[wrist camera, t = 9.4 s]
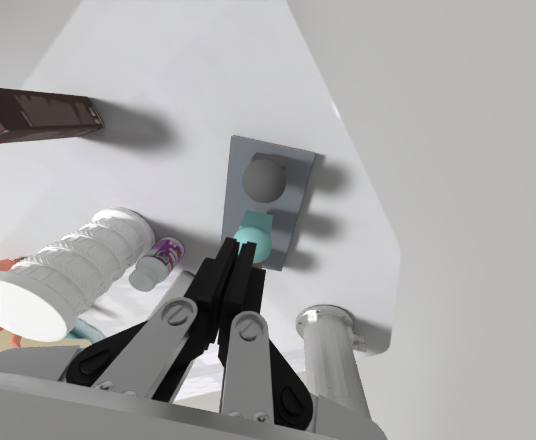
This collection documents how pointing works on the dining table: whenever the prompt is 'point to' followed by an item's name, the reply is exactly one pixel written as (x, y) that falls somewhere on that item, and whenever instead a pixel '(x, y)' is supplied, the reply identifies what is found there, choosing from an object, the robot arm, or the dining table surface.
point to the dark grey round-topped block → (265, 178)
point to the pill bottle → (156, 264)
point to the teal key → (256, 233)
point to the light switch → (175, 289)
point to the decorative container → (71, 274)
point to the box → (44, 116)
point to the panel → (281, 209)
